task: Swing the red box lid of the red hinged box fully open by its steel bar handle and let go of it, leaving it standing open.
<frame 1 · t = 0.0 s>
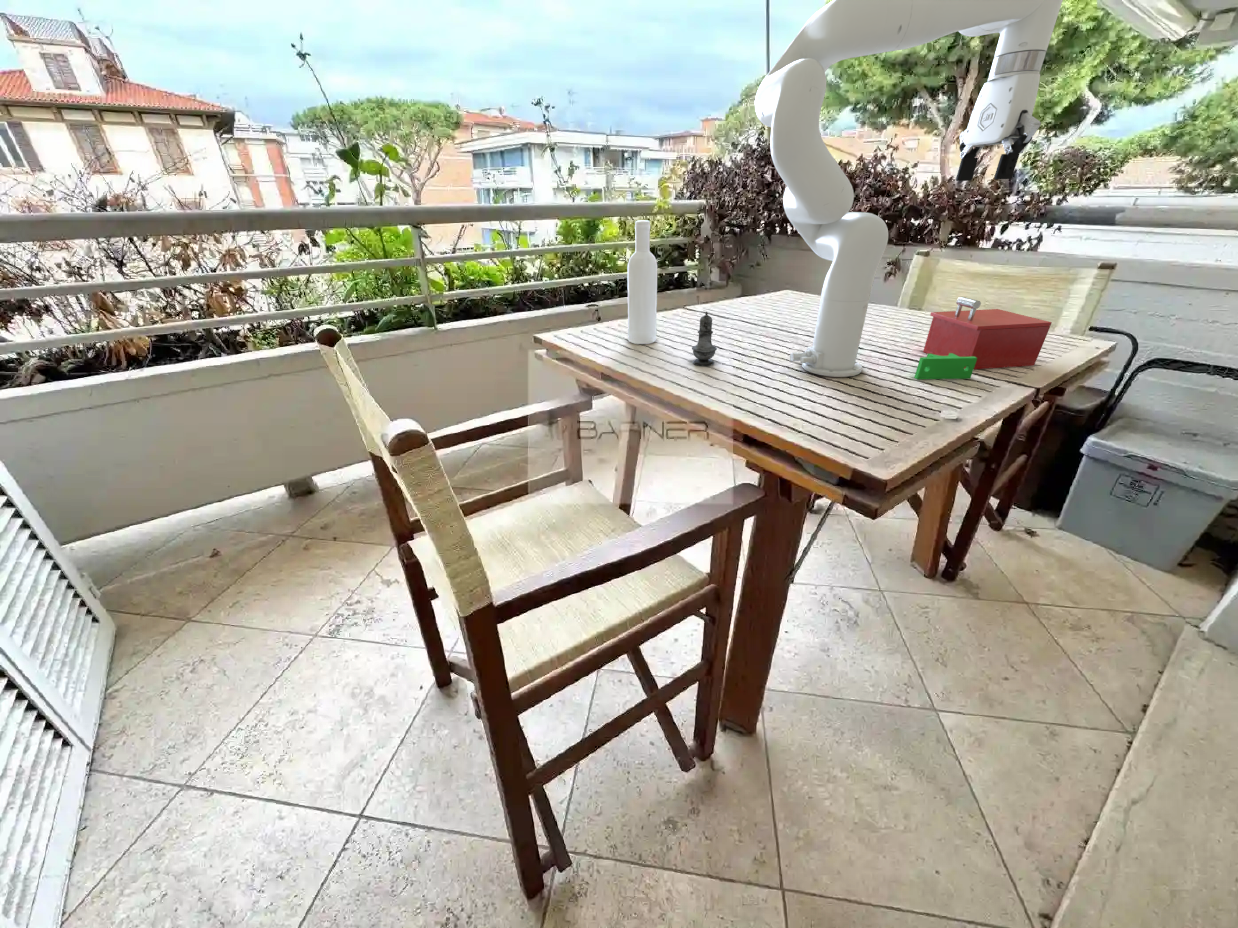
hand: (982, 180, 94), 37 cm above the table, tool pointing down, fingers open, 9 cm apart
red hinged box: (975, 358, 114), on the table
salt shaker: (703, 363, 116), on the table
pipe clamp: (939, 377, 104), on the table
bottle: (642, 341, 135), on the table
red box lid: (991, 309, 109), point 11 cm above the table, hinge at 0.0°
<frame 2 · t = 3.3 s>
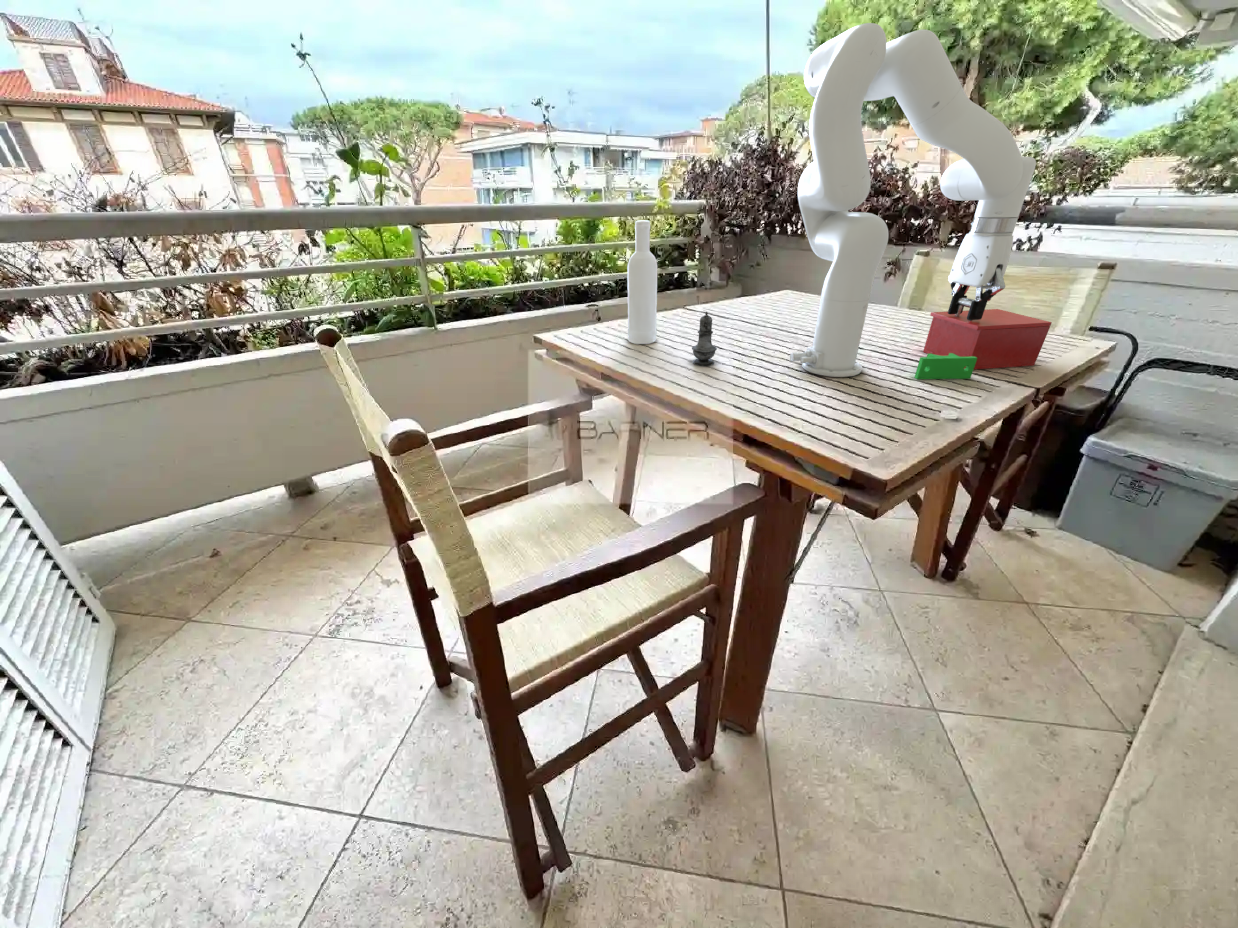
hand: (964, 315, 109), 10 cm above the table, tool pointing down, fingers closed on red box lid, 5 cm apart
red box lid: (991, 309, 109), point 11 cm above the table, hinge at 0.0°, touching gripper
everything else where it was.
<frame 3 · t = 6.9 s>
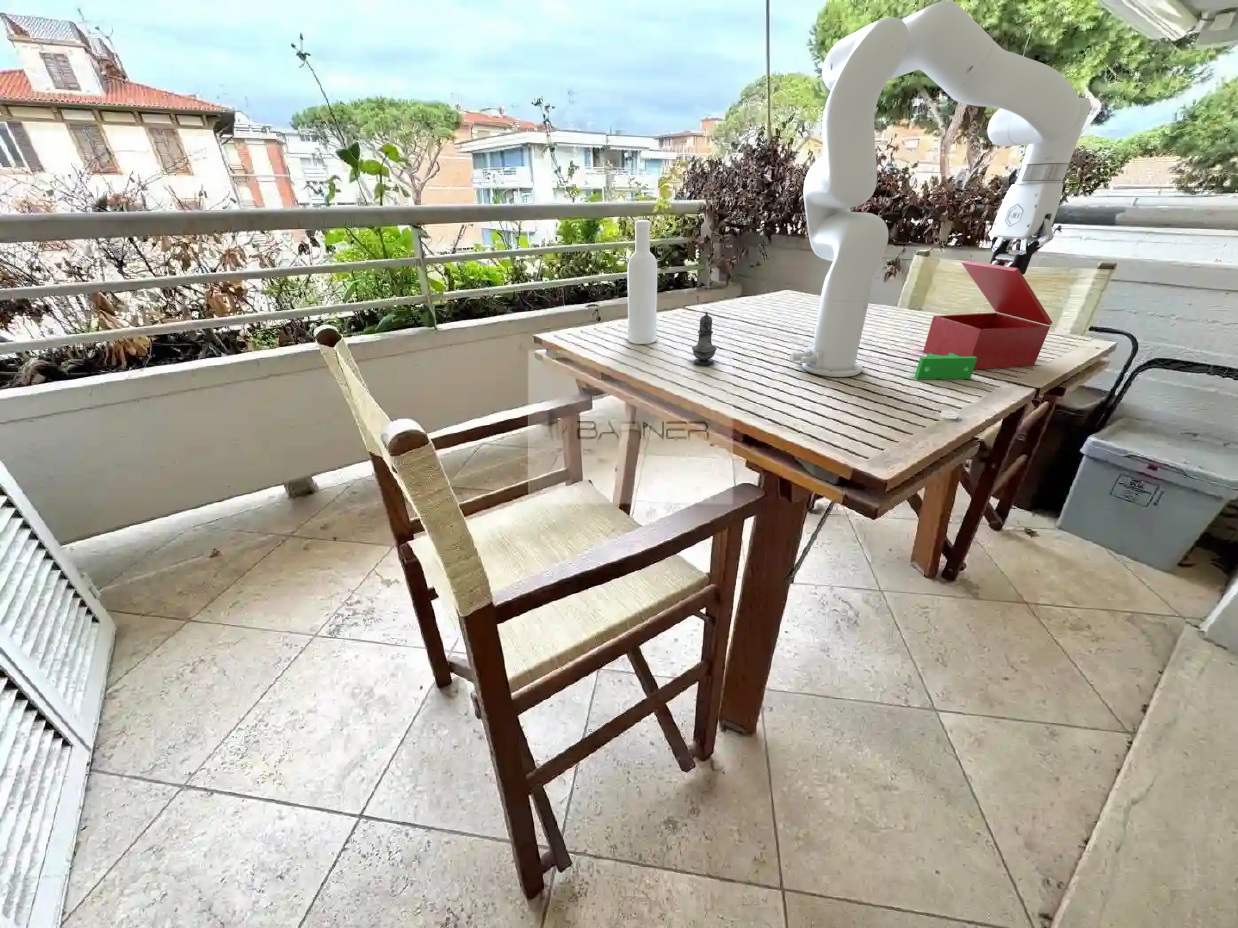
hand: (1005, 271, 105), 19 cm above the table, tool pointing down, fingers closed on red box lid, 5 cm apart
red box lid: (1014, 284, 107), point 17 cm above the table, hinge at 41.3°, touching gripper
everything else where it was.
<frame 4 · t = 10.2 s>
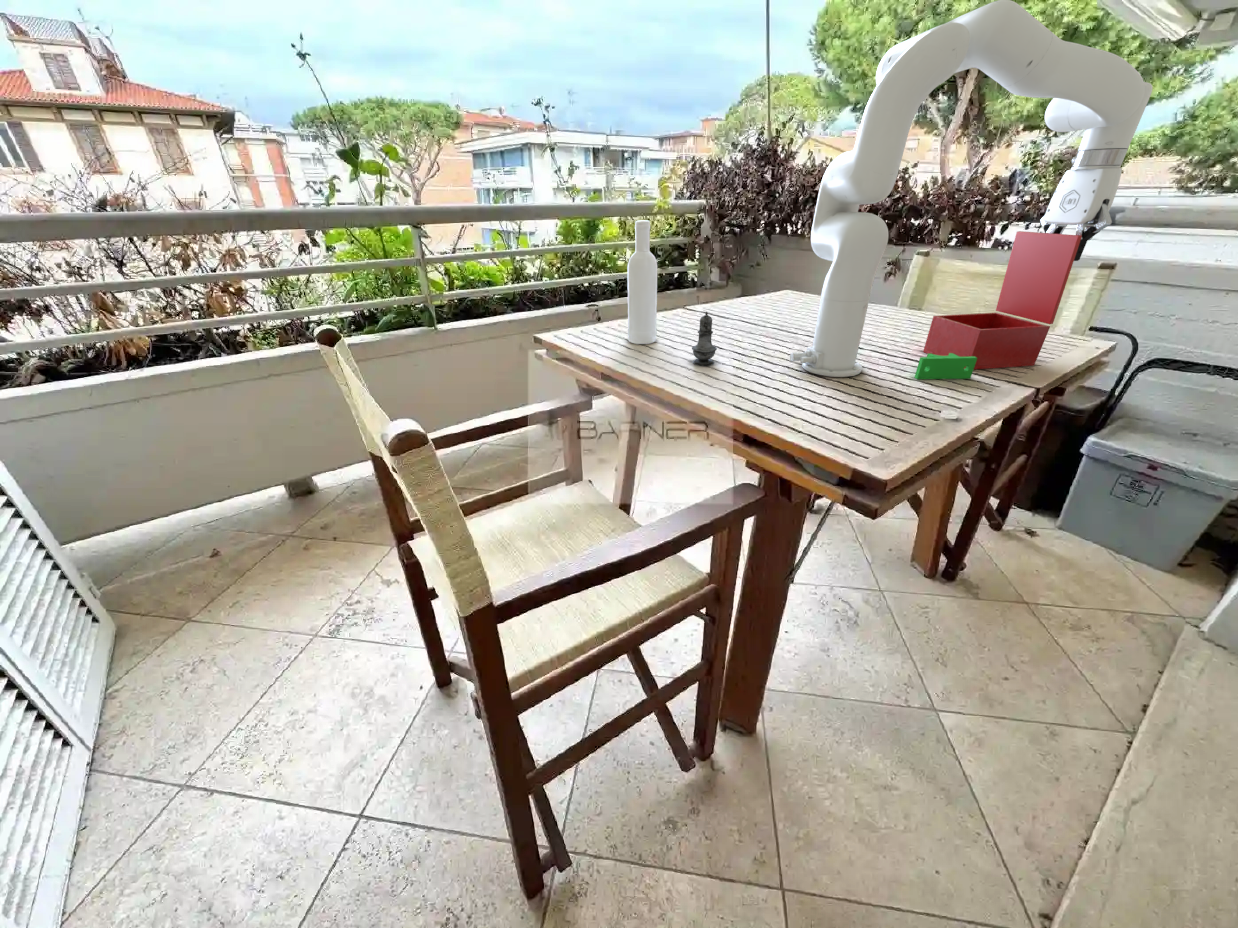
hand: (1058, 258, 105), 22 cm above the table, tool pointing down, fingers closed on red box lid, 5 cm apart
red box lid: (1043, 275, 107), point 18 cm above the table, hinge at 84.7°, touching gripper
everything else where it was.
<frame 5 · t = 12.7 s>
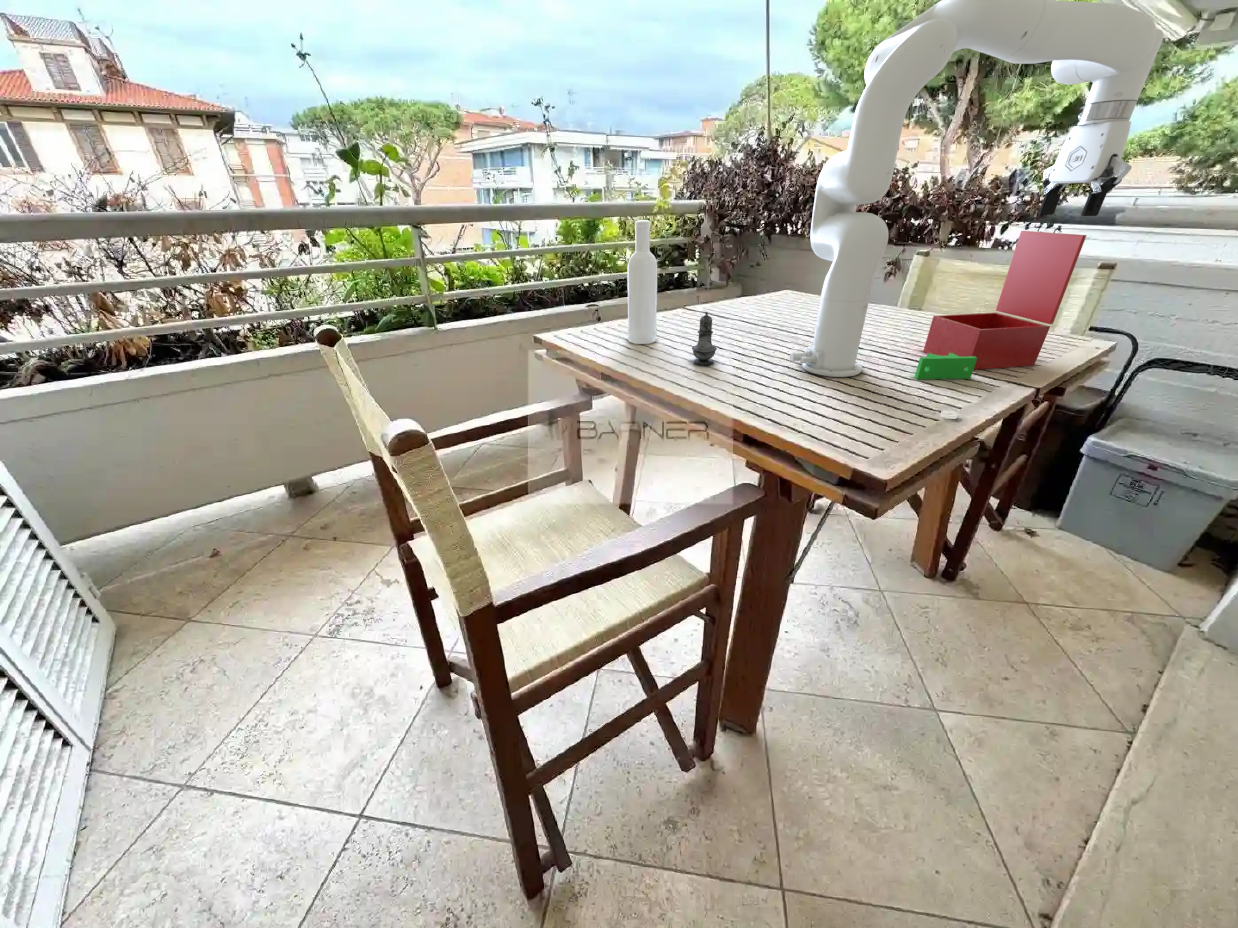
hand: (1066, 215, 101), 30 cm above the table, tool pointing down, fingers open, 9 cm apart
red box lid: (1045, 276, 107), point 18 cm above the table, hinge at 88.0°
everything else where it was.
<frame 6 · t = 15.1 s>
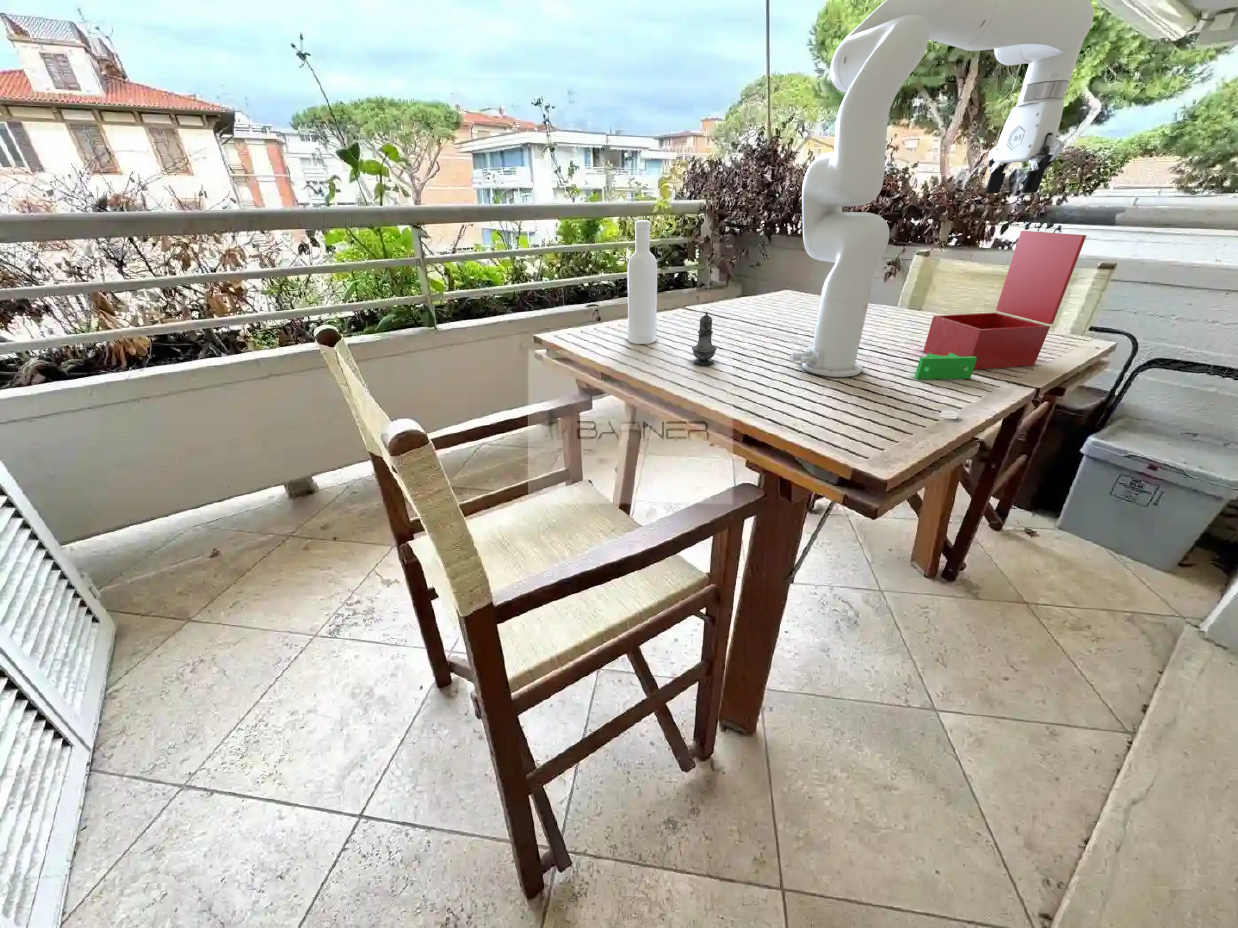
hand: (1009, 193, 106), 34 cm above the table, tool pointing down, fingers open, 9 cm apart
nothing on the table moved.
at the end: red box lid at +88° (first picture: +0°); the gripper is holding nothing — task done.
